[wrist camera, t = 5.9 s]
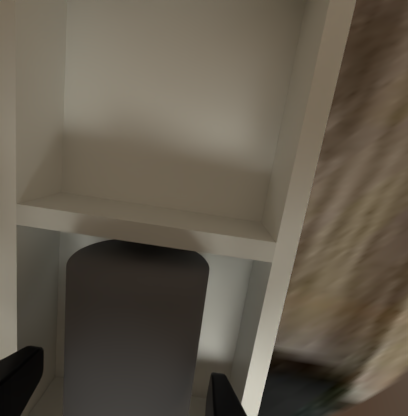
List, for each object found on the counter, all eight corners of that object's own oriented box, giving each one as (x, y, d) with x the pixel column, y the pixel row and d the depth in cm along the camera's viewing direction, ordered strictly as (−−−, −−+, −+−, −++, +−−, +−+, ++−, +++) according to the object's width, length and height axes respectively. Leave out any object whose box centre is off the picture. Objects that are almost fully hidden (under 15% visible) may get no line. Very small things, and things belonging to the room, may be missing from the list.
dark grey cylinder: (189, 380, 11) (180, 507, 7) (94, 369, 11) (31, 491, 7) (208, 246, 10) (211, 308, 6) (101, 232, 10) (29, 286, 6)
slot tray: (233, 389, 12) (242, 476, 9) (57, 364, 12) (0, 442, 9) (315, -1, 9) (378, -92, 6) (70, -39, 9) (-14, -155, 6)
